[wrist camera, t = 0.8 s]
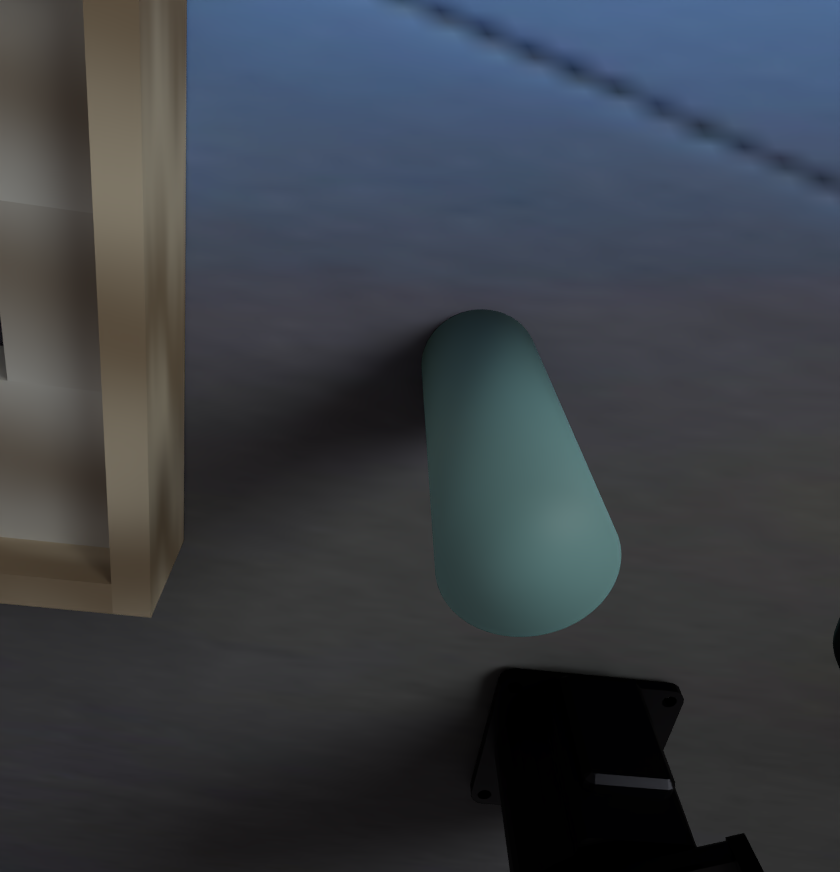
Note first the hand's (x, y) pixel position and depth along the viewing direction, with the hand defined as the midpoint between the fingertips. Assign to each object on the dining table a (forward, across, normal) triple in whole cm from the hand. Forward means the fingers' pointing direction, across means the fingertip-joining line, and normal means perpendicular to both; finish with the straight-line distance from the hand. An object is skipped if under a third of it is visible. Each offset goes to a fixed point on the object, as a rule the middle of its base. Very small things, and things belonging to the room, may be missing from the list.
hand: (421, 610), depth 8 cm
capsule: (+13, -2, +3) cm, 14 cm away
